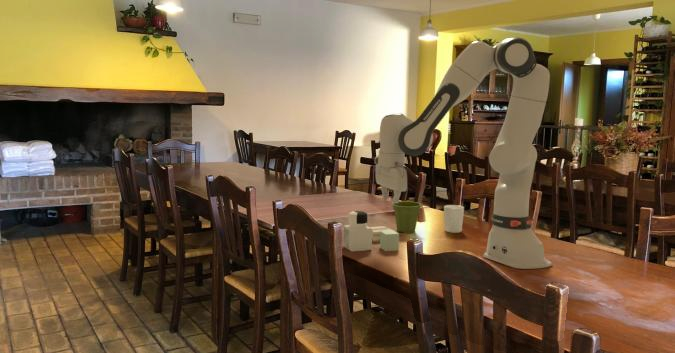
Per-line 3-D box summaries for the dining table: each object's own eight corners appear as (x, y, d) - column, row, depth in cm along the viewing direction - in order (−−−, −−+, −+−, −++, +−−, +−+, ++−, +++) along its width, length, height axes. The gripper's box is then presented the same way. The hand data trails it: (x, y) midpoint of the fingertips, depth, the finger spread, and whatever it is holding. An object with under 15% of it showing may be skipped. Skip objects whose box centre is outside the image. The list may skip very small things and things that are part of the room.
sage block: (398, 250, 186) (399, 233, 185) (385, 251, 184) (385, 234, 184) (393, 246, 190) (393, 230, 190) (380, 247, 189) (380, 231, 188)
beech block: (393, 241, 200) (393, 230, 199) (373, 242, 197) (374, 232, 197) (384, 236, 207) (384, 226, 207) (365, 237, 205) (365, 227, 204)
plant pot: (385, 229, 218) (386, 202, 216) (409, 227, 223) (410, 200, 222) (401, 235, 207) (402, 207, 206) (426, 233, 213) (427, 205, 211)
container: (363, 244, 193) (363, 209, 191) (372, 250, 185) (372, 213, 184) (343, 246, 190) (343, 210, 188) (351, 252, 183) (352, 214, 181)
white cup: (463, 233, 212) (464, 209, 211) (443, 232, 214) (444, 207, 212) (462, 229, 220) (463, 205, 218) (443, 228, 221) (444, 204, 220)
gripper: (412, 164, 175) (411, 205, 176) (389, 158, 194) (387, 195, 196) (394, 164, 173) (393, 206, 174) (372, 158, 192) (371, 196, 194)
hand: (390, 200), depth 185 cm, fingers open, 8 cm apart
